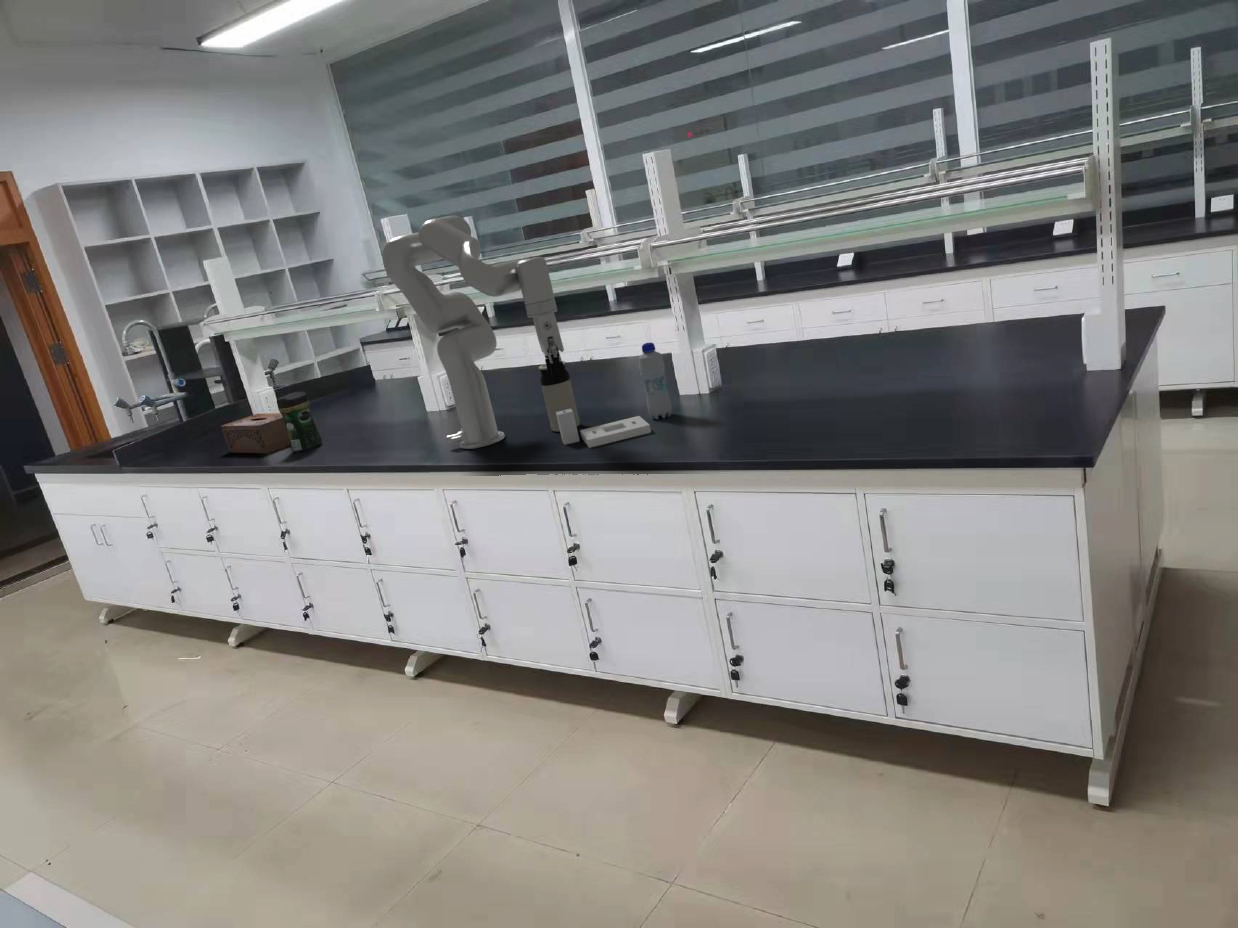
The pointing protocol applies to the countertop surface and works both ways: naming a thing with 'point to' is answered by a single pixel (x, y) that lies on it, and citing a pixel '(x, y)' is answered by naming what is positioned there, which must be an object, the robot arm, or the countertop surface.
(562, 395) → the travel mug
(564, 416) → the charger
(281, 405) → the coffee jar
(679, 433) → the countertop surface
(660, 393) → the bottle
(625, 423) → the outlet plate
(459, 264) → the robot arm
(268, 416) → the tissue box cover
